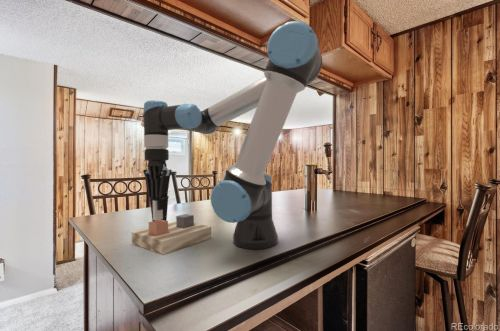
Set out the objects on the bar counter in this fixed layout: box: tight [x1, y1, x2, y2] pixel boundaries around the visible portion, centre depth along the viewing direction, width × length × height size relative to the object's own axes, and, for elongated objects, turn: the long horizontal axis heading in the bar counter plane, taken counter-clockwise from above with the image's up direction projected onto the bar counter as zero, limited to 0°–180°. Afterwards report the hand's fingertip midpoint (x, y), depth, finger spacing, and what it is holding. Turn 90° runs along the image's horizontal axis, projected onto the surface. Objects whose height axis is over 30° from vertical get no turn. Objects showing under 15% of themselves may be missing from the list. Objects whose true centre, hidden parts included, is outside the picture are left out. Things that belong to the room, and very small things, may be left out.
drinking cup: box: [148, 195, 170, 222], centre depth 102 cm, size 8×8×20 cm
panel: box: [131, 221, 213, 256], centre depth 87 cm, size 18×20×4 cm
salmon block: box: [148, 220, 169, 236], centre depth 83 cm, size 4×4×5 cm
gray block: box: [175, 213, 195, 228], centre depth 92 cm, size 4×4×5 cm
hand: (157, 219), depth 83 cm, fingers closed
